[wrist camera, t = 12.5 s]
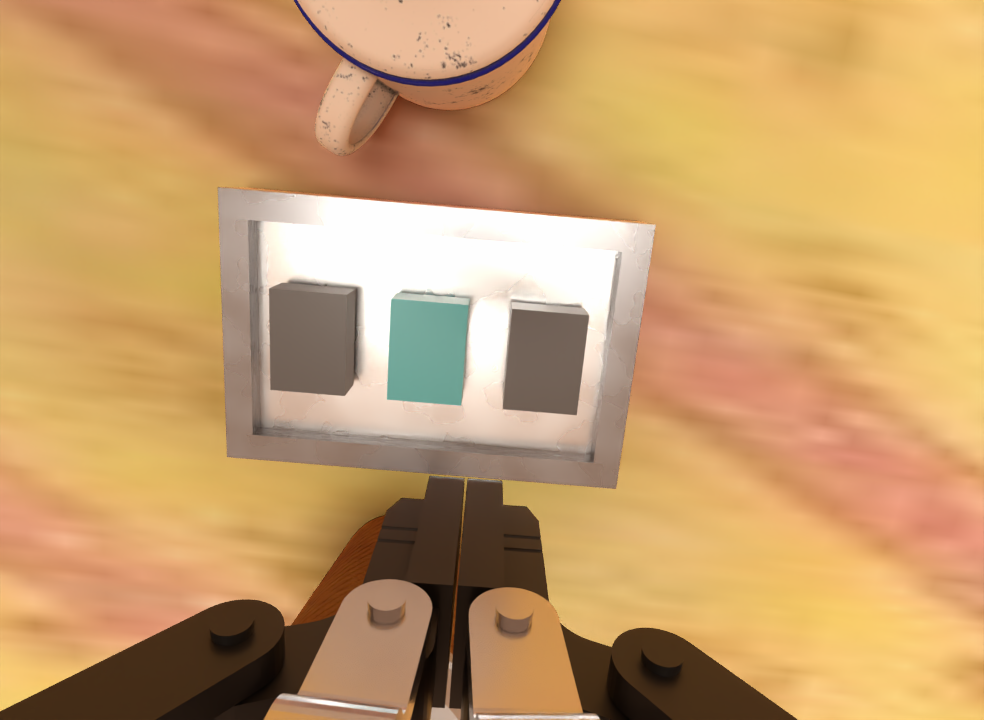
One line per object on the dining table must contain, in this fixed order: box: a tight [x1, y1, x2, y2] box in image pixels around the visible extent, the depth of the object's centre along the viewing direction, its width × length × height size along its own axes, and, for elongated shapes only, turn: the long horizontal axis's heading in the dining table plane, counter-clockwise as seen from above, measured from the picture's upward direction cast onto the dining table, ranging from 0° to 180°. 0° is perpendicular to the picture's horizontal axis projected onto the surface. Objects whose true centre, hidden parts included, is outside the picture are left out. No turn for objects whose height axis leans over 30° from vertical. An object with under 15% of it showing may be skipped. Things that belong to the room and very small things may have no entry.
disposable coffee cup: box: [292, 515, 461, 720], centre depth 27 cm, size 10×10×12 cm
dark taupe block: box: [503, 302, 589, 415], centre depth 27 cm, size 4×3×2 cm
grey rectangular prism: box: [269, 283, 356, 396], centre depth 27 cm, size 4×3×2 cm
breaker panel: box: [218, 187, 656, 489], centre depth 28 cm, size 12×18×3 cm, turn 85°
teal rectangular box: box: [387, 292, 470, 406], centre depth 27 cm, size 4×3×2 cm
